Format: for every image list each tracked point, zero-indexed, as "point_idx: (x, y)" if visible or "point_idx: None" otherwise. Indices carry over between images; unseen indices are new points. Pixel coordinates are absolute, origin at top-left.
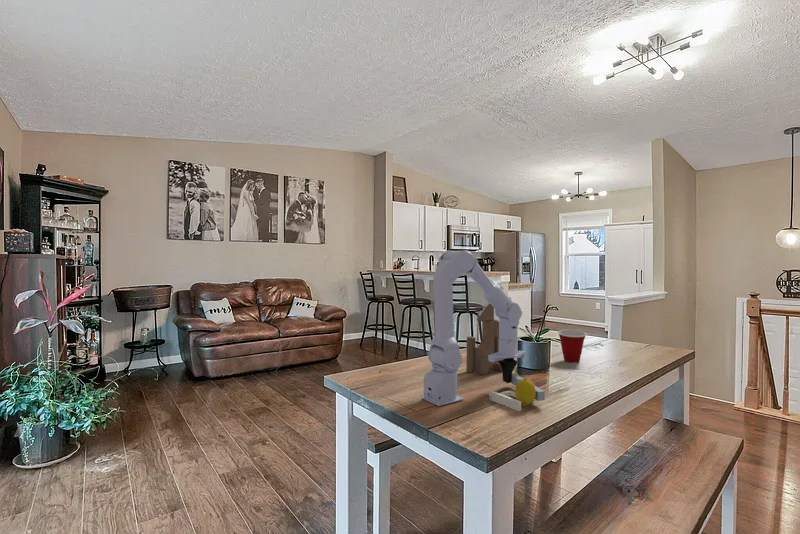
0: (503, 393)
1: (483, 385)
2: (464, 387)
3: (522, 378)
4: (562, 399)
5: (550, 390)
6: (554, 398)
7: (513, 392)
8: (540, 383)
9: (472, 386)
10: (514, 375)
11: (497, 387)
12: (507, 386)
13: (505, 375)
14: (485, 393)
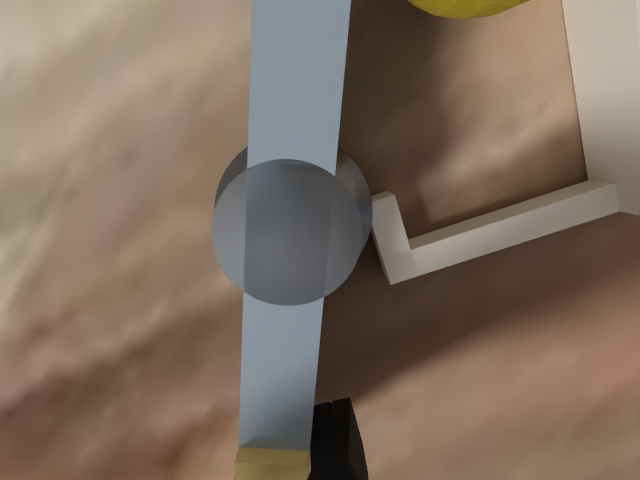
0: (494, 222)
1: (458, 476)
2: (608, 467)
3: (251, 331)
4: (3, 35)
5: (8, 273)
6: (66, 80)
7: (397, 221)
8: (16, 430)
9: (544, 474)
10: (282, 443)
11: (387, 421)
12: None
13: (360, 477)
14: (551, 329)
